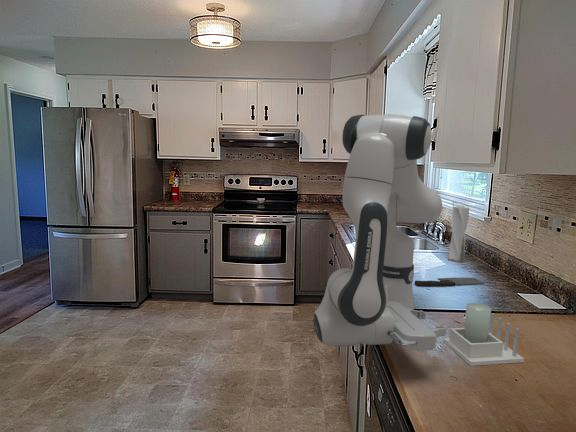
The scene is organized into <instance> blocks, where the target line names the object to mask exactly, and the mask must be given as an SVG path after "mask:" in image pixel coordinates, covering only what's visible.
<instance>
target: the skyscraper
mask: <svg viewBox="0 0 576 432" xmlns="http://www.w3.org/2000/svg"><path fill="white" fill-rule="evenodd" d="M455 204H456V205H457V206H454V205H455ZM451 213H452V214H451V230H452V231H451V232H452V234H451V236H450V237H451V239H450V244H449V245H450V246H449V254H448V259H447V261H450V262H456V263H461V264H463V263H465V262H467V261H468V259H467V258H465V252H466V251H465V250H466V230H467V227H468V223H469V216H470V215H469V214H470V207H469V206H468V205H463V204H458V203H457V202H456V201H453V202H452V212H451Z"/></svg>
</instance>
